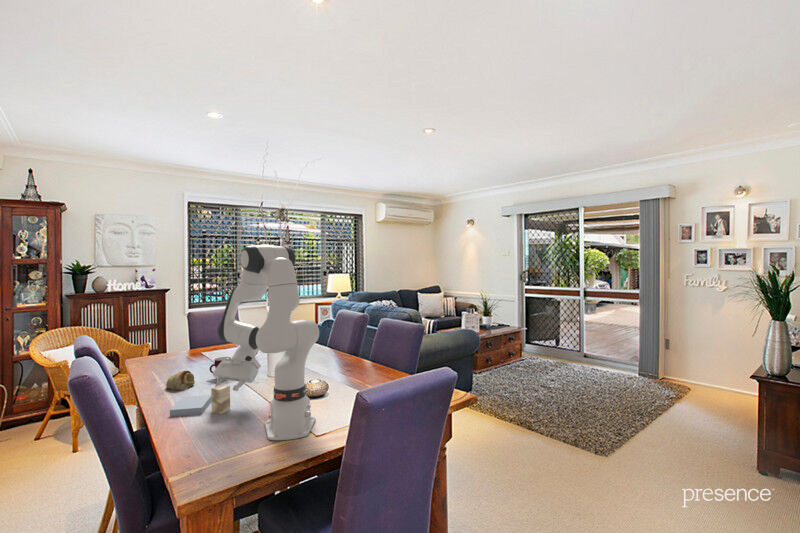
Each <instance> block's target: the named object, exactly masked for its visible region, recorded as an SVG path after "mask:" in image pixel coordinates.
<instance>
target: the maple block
mask: <svg viewBox="0 0 800 533" xmlns="http://www.w3.org/2000/svg"><path fill="white" fill-rule="evenodd" d="M215 386H216V385H215ZM215 386H214V387H211V389H210V393H211V394H210V395H211V402H210V404H211V413H212V414H220V415H223V414H224V413H227V412H229V411H230V410H231V386H230V385H224V384H221V385H219V386H216V387H215Z"/></svg>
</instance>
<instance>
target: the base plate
mask: <svg viewBox="0 0 800 533" xmlns="http://www.w3.org/2000/svg"><path fill="white" fill-rule="evenodd" d="M210 404H211V394H206V395H205V394H204V395H202V394H201V395H189V396H188V395H187V396H182V397H181V398H180V399H179V400H178V401H177V402H176V403H175V404H174V405H173V406H172V407H171V408H170V409H169V417H175V416H176V417H177V415H178V416H179V415H180V416H189V415H190V416H191V415H192V416H193V415H202V414H203V413H204V412H205V410H206V409H207V408H208V406H210Z"/></svg>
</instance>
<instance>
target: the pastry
mask: <svg viewBox="0 0 800 533" xmlns="http://www.w3.org/2000/svg"><path fill="white" fill-rule="evenodd" d="M195 383H196V381H195V375H194V374H193V373H192V372H191V371H190V370H184V371H183V370H181V371H179V372H178V373H177V372H176V373H175V374H173V375H171V376H169V377H168V379H167V381H166V384H165V386H166V388H167V389H169V390H172V391H184V389H185V390H187V388H188V389H189V388H191V387H192V386H194V385H195Z"/></svg>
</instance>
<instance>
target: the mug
mask: <svg viewBox="0 0 800 533" xmlns="http://www.w3.org/2000/svg"><path fill="white" fill-rule="evenodd" d="M231 358H232V357H231V356H222V357H221V356H220V357H216V358H215V359H214V363H213V364H211V365H210V367H209V372H210V373H211V374H213V372H214V371H213V370H212V368H213V367H214V368H215V369H216V368H217V366H218V365H219V364H220V363H221V362H222V361H223V360H225V359H231Z"/></svg>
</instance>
